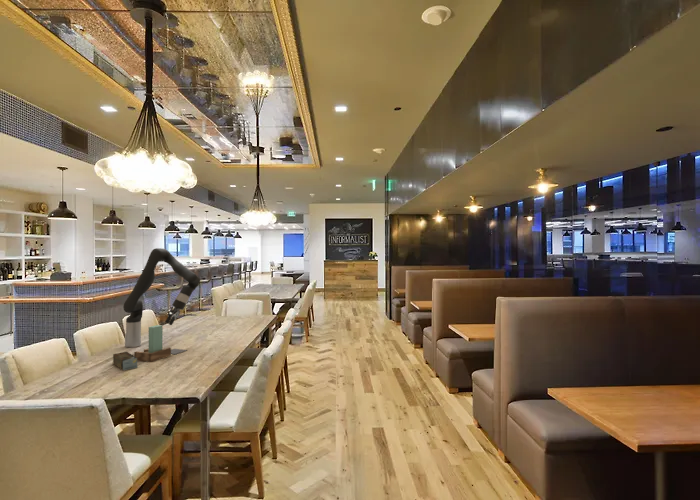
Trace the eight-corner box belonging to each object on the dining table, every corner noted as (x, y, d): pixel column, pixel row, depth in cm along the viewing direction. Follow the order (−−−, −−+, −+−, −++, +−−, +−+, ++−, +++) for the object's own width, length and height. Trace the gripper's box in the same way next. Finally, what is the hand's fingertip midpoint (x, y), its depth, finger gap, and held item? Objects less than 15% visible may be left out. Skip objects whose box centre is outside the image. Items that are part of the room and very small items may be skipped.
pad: (161, 353, 250) (161, 352, 250) (174, 349, 261) (174, 348, 261) (175, 354, 247) (175, 354, 247) (187, 350, 257) (187, 349, 257)
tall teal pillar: (148, 359, 236) (148, 327, 236) (157, 356, 243) (157, 325, 243) (153, 359, 235) (153, 327, 235) (162, 357, 241) (162, 325, 242)
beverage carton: (122, 371, 213) (122, 359, 213) (112, 364, 226) (112, 353, 227) (137, 368, 219) (137, 356, 219) (127, 361, 232) (127, 350, 232)
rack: (133, 360, 234) (133, 351, 234) (153, 353, 249) (153, 346, 249) (151, 362, 230) (151, 353, 230) (170, 355, 245) (170, 347, 245)
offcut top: (143, 353, 238) (143, 349, 238) (151, 351, 244) (151, 347, 244) (148, 354, 237) (148, 349, 237) (155, 351, 243) (155, 347, 243)
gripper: (178, 301, 260) (165, 323, 254) (173, 296, 247) (159, 319, 240) (188, 305, 260) (176, 327, 254) (184, 301, 247) (171, 324, 241)
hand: (168, 323), depth 247 cm, fingers open, 8 cm apart
